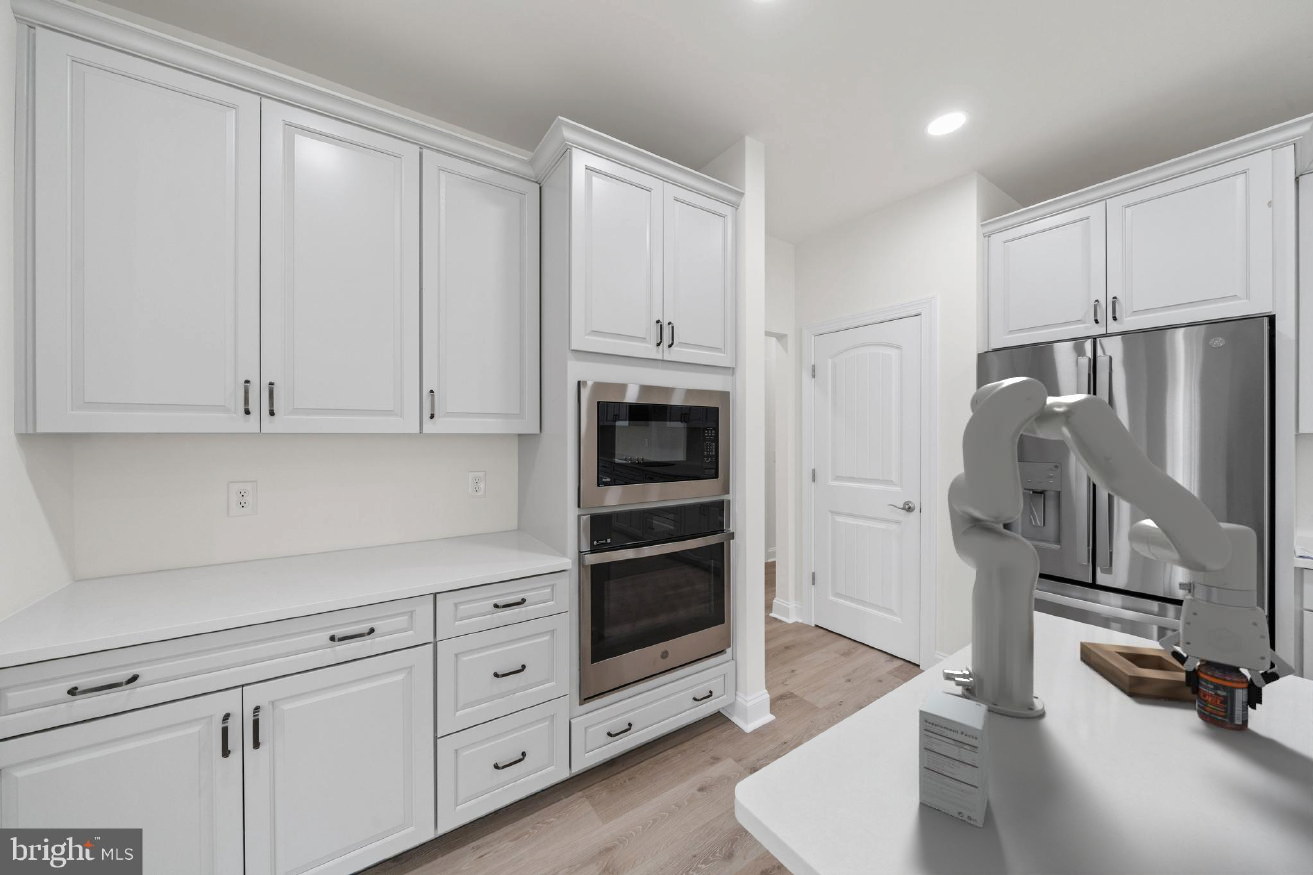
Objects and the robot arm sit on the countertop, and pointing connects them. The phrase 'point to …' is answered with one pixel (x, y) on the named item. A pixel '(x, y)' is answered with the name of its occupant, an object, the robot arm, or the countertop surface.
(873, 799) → the countertop surface
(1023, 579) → the robot arm
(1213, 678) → the supplement bottle
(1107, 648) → the socket block
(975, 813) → the supplement box
